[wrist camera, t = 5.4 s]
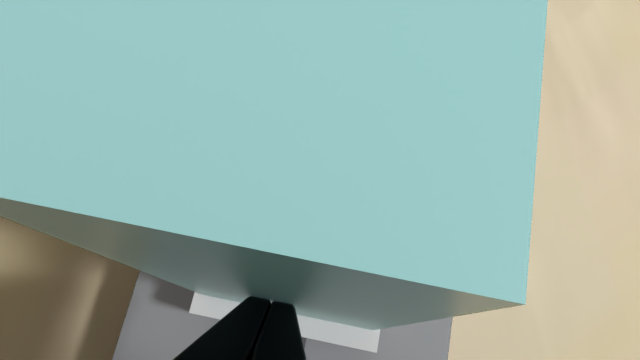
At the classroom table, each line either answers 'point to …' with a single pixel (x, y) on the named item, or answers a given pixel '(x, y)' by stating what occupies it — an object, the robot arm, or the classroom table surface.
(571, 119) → the classroom table surface
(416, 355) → the fader board
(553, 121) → the classroom table surface
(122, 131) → the fader lever
